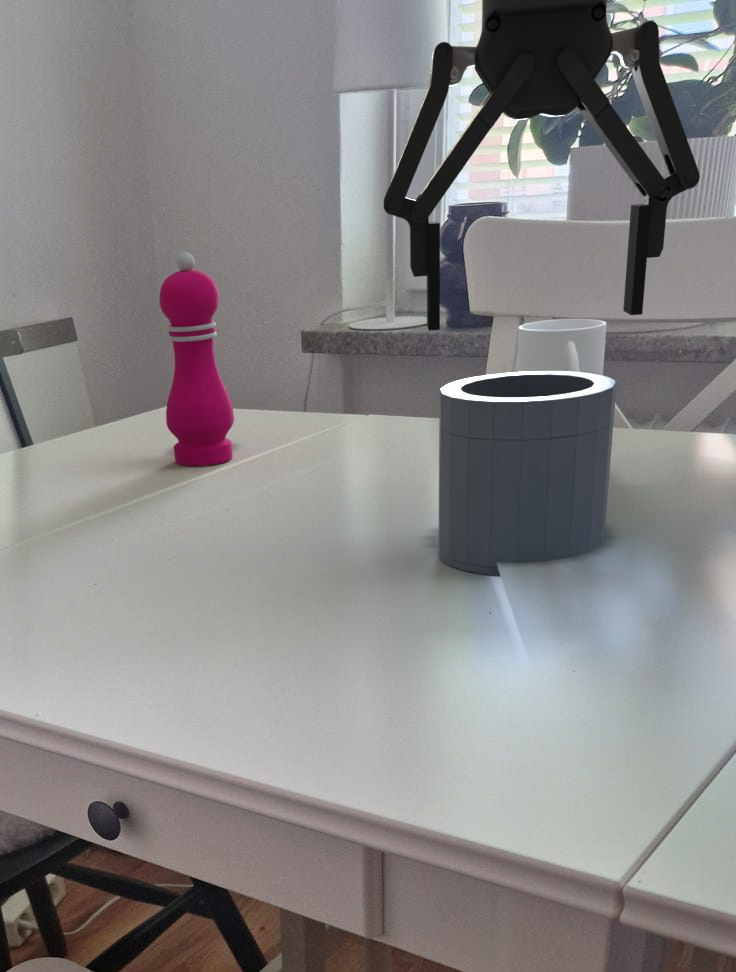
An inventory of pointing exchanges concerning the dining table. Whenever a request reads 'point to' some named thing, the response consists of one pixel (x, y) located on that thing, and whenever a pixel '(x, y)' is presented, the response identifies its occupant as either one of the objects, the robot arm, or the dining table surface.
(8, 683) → the dining table surface
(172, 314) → the pepper mill
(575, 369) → the mug
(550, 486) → the open container
